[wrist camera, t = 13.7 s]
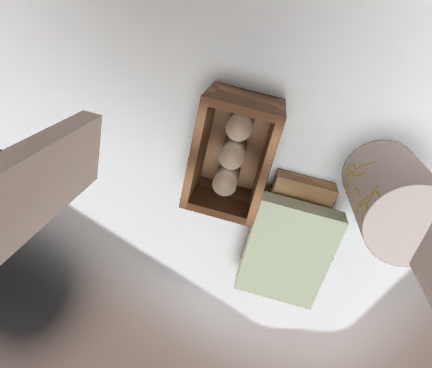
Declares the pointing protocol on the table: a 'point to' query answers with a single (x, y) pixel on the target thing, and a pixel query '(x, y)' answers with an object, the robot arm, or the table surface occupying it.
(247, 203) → the box
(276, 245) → the lid
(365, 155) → the cup
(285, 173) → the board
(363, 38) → the table surface
